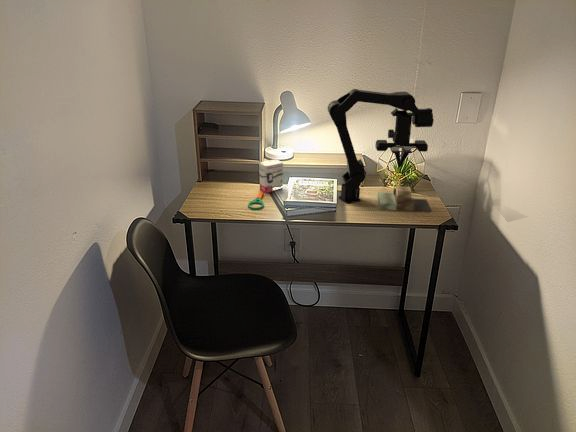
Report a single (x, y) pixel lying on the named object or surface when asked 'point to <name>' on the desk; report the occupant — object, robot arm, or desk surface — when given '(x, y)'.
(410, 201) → the tunnel course
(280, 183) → the ink box
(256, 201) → the magnifying glass
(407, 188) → the maple block
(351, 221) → the desk surface
